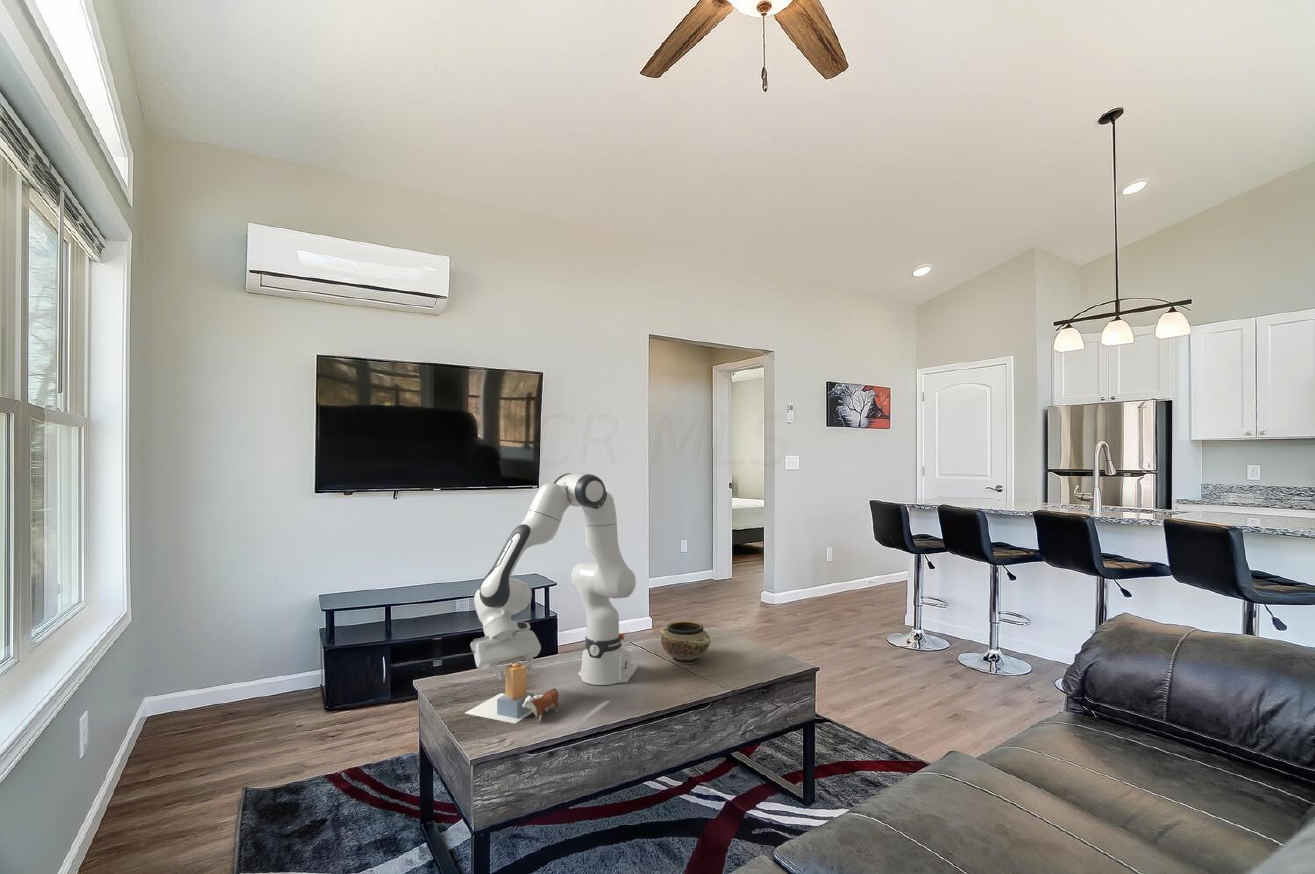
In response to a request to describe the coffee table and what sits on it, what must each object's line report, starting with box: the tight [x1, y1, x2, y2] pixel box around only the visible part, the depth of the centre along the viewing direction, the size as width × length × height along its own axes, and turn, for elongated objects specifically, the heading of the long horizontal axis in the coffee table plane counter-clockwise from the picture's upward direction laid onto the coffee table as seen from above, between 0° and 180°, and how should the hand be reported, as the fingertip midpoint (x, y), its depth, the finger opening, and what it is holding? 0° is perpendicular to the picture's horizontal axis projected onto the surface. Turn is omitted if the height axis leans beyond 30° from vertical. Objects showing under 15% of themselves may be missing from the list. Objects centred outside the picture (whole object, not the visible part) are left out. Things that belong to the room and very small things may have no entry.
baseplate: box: [464, 692, 533, 724], centre depth 191 cm, size 17×18×1 cm
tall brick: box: [504, 661, 527, 700], centre depth 188 cm, size 4×4×9 cm
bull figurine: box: [522, 688, 559, 721], centre depth 185 cm, size 4×13×8 cm, turn 146°
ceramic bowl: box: [659, 620, 712, 665], centre depth 237 cm, size 24×18×15 cm
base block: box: [497, 691, 534, 718], centre depth 188 cm, size 8×7×4 cm
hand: (516, 674), depth 188 cm, fingers open, 8 cm apart
